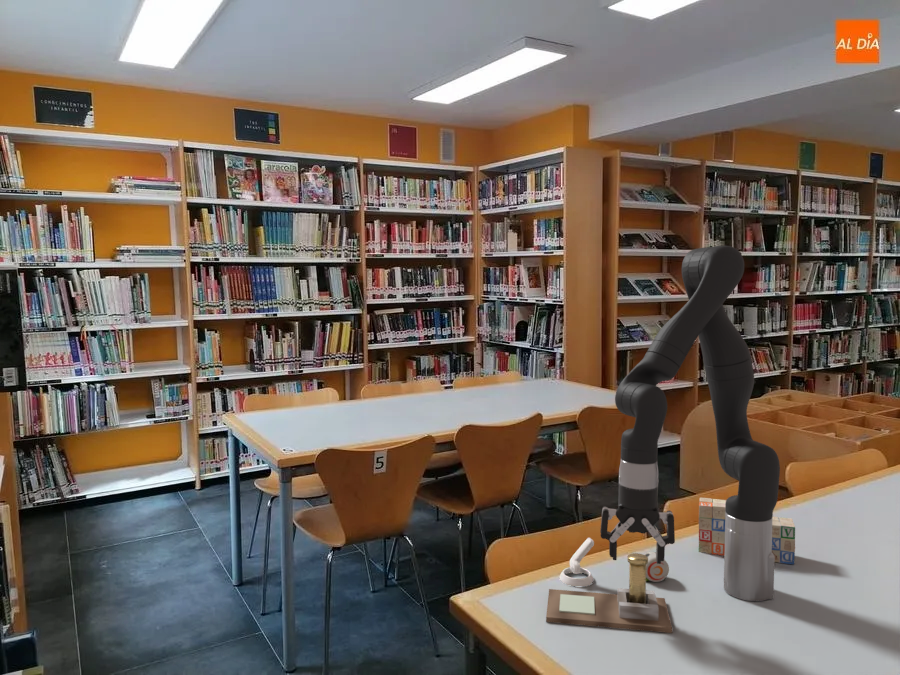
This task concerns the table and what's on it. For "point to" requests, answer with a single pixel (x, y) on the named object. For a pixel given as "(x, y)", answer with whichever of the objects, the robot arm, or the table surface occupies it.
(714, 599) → the table surface
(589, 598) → the sage pad
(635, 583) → the brass peg
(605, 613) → the walnut board
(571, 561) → the white vr controller
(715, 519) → the stack of blocks
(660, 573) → the roller toy
